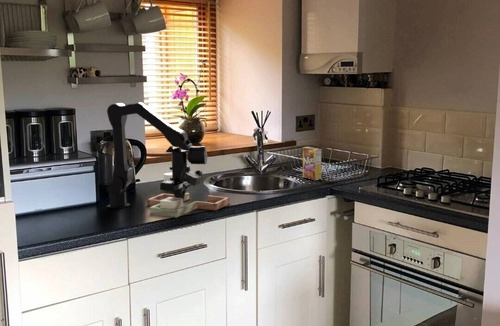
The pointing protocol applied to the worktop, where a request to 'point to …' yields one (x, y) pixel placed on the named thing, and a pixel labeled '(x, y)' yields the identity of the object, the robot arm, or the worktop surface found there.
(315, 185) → the worktop surface
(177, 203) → the cream block
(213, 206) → the channel
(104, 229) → the worktop surface
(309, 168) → the candy box
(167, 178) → the white cup
